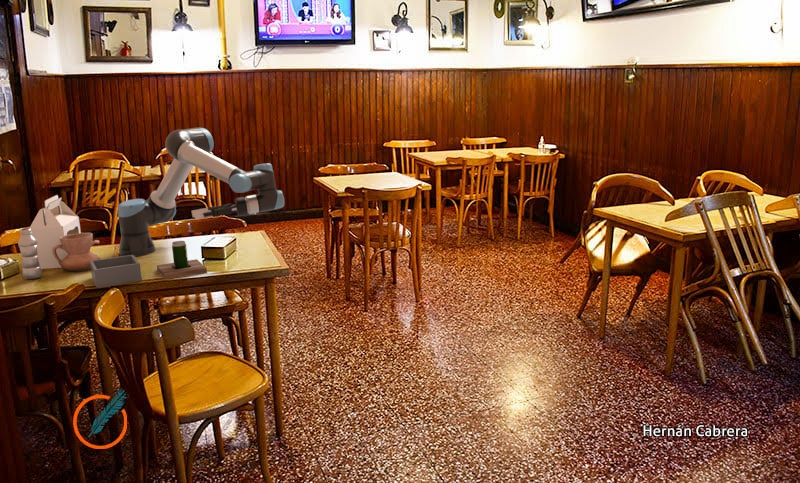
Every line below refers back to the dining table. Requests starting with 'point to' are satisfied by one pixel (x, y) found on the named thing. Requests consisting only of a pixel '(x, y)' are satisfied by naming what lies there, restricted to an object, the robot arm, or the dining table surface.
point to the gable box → (53, 230)
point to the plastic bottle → (29, 254)
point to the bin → (115, 271)
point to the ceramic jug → (76, 251)
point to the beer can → (180, 255)
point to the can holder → (170, 272)
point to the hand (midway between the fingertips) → (193, 215)
